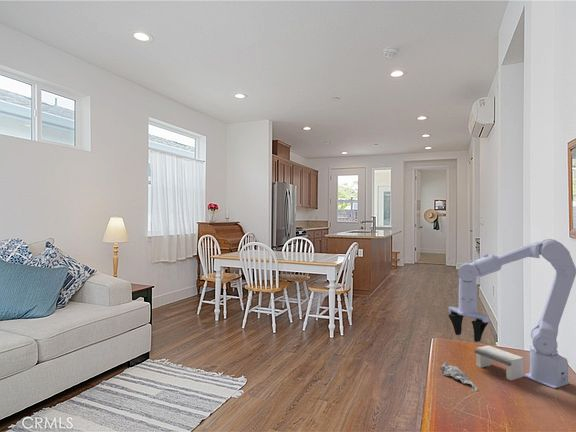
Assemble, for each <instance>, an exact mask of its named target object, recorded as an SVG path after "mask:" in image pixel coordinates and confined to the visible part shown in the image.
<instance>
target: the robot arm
mask: <svg viewBox="0 0 576 432" xmlns="http://www.w3.org/2000/svg"><path fill="white" fill-rule="evenodd" d="M540 255H541V257H543V258H544V259H545V260H546V261H547V262H549V263H550V264H551V266H552V267H553V268H554V270H555V275H554V278H553V281H552V283H551V286H550V289H549V293H548V296H547V298H546V302H545V305H544V308H543V311H542V314H541V316H540V319H539V320H538V321H537V325H536V326H535V327H534V328H532V330H531V332H530V337H531V340H532V345H531V346H529V372H528V373H525V374H524V373H523V377H525V378H527V379H529V380H532V381H534V382H537V383H539V384H542V385H544V386H547V387H549V388H553V389H558V388H560V387H564V386H566V385H569V384H570V381H569V362H568V359H567V358H566V357H564V356H562V355H560V354H559V352H558V350H557V349H558V342H557V337H558V333H559V325H560V323H561V319H562V316H563V314H564V311H565V309H566V305H567V303H568V299H569V296H570V292H571V291H572V290H571V289H572V288H573V284H574V281H575V278H576V265H575V262H574V261H573V257H572V255H571V252H570V251H569V249H568V248H567V247H566V246H565V245H564V244H563V243H561V242H560V241H558V240H556V239H552V238H547V239H544V240H542V241H539V240H538V241H535V242H532V243H528V244H525V245H522V246H520V247H518V248H515V249H512V250H511V251H508V252H504V253H503V254H500V255H495V254H494V253H493V254H489V255H488V253H486V254H483V257H480V258H478V259H475V260H474V259H470V260H469V262H465V263H463V264H462V265H461V266H460V267H459V268H458V271H457V275H458V276H459V279H458V283H459V284H458V307H457V306H453V305H451V306H448V307H447V308H448V309H447V310H448V318H449V319H450V322H451V324H452V327H453V329H454V334H455V335H456V336H459V335H462V332H463V331H462V325H463V320H464V317H467V318H469V319H473V320H471V324H472V329H473V339H474V342H475V343H479V342H481V339H482V336H483V334H484V331H485V329H486V328H487V326H488V325H489V323H490V316H489V315H487V314H484V313H481V312H479V311H478V285H477V277H480V278H481V277H484V276H487V275H490V274H492V273H496V272H499V271H501V269H502V267H503V265H506V264H509V263H512V262H516V261H519V260H522V259H526V258H535V259H540Z"/></svg>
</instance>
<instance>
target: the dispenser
mask: <svg viewBox="0 0 576 432" xmlns="http://www.w3.org/2000/svg"><path fill="white" fill-rule="evenodd" d="M474 354H476V360H475V362H476V364H475V365H476V367H478V368H484V367H489V366H492V365H493V361H495V362H498V363H501V364H504V365H506V366H505V369H506V370H505V372H506V373H505V374H506V376H505V377H506V380H510V381H514V380H517V379H520V378H523V377H524V357H523V356H521V355H517V354H514V353H512V352H508V351H506V350H502V349H500V348H497V347H494V346H491V345H488V344H487V345H483V346H479V347H476V348H475V350H474Z"/></svg>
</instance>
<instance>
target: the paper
mask: <svg viewBox="0 0 576 432" xmlns="http://www.w3.org/2000/svg"><path fill="white" fill-rule="evenodd" d="M439 370H440V371H441V372H443V374H442V375H443V376H446V377H452V378H453V379H454V380H457V381H458V380H460V381H461V382H460V383H462V384H470V385H471V391H472V392H474V391H475V392H479V388H478V387H477V386H476V385H475V384H474V382H473V381H472V380H471V379H470V377H469V376H468V375H467V374H466V373H465V372H464V371H462V370H461V369H460V368H459V367H458V366H453V365H451V364H448V362H446V361H444V362H443V363H442V365H441V366H440V368H439Z"/></svg>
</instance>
